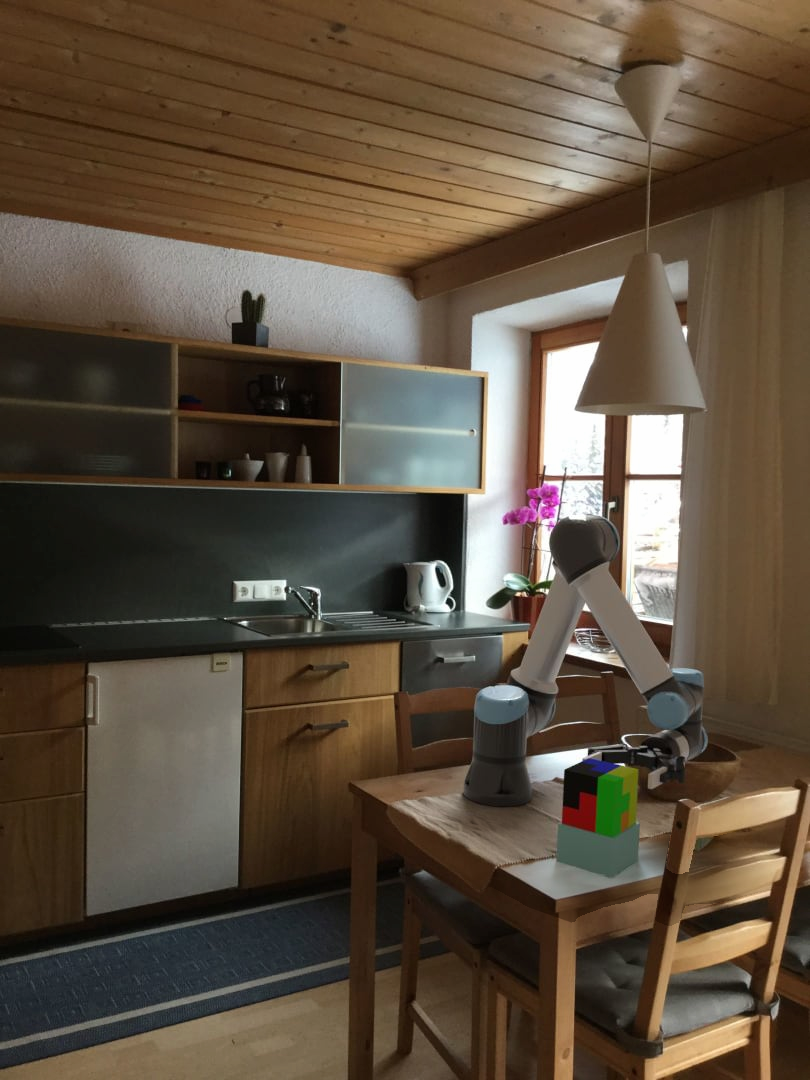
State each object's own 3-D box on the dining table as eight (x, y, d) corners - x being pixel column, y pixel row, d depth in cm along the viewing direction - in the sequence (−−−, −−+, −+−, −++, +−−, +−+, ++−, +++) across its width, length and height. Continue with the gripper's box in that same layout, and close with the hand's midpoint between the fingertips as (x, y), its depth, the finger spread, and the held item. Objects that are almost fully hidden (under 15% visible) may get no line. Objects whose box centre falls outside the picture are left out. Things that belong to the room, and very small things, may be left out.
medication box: (700, 852, 178) (702, 832, 178) (686, 848, 180) (687, 828, 180) (718, 834, 188) (720, 815, 188) (705, 831, 190) (706, 812, 189)
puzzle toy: (586, 809, 179) (588, 758, 178) (635, 822, 173) (638, 769, 172) (561, 823, 171) (564, 769, 170) (612, 837, 165) (615, 781, 164)
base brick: (556, 860, 171) (558, 823, 171) (584, 844, 180) (585, 808, 179) (611, 878, 164) (613, 839, 164) (638, 859, 173) (640, 822, 173)
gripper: (722, 782, 185) (678, 809, 168) (607, 756, 201) (557, 778, 184) (724, 745, 184) (680, 768, 168) (609, 722, 200) (558, 740, 184)
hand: (616, 773), depth 176 cm, fingers open, 13 cm apart
